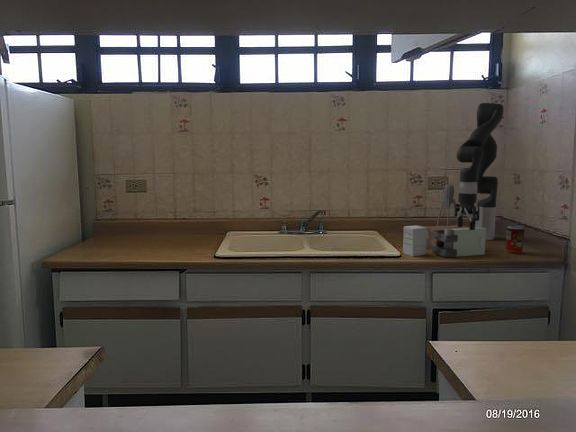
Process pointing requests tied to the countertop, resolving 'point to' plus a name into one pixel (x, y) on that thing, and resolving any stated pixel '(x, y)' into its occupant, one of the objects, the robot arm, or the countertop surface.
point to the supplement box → (414, 240)
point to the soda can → (514, 239)
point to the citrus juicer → (447, 201)
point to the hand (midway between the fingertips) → (465, 228)
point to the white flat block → (467, 241)
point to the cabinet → (441, 240)
